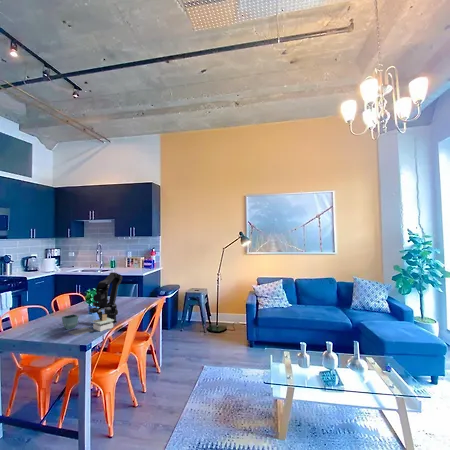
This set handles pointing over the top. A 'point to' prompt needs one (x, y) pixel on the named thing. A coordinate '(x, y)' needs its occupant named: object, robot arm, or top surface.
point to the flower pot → (70, 321)
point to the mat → (80, 331)
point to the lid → (103, 319)
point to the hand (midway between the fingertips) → (103, 319)
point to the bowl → (103, 326)
